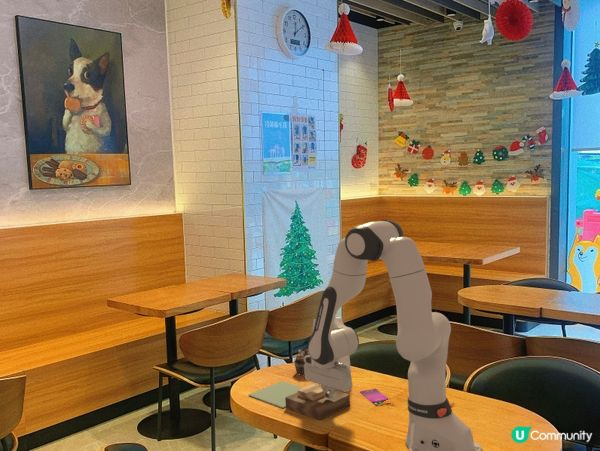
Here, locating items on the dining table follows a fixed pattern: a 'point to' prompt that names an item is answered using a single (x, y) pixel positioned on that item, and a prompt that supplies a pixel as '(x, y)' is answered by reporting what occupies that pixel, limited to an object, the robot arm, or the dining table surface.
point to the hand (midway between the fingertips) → (328, 397)
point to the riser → (318, 404)
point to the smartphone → (374, 396)
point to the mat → (276, 393)
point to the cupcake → (300, 361)
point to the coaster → (311, 392)
